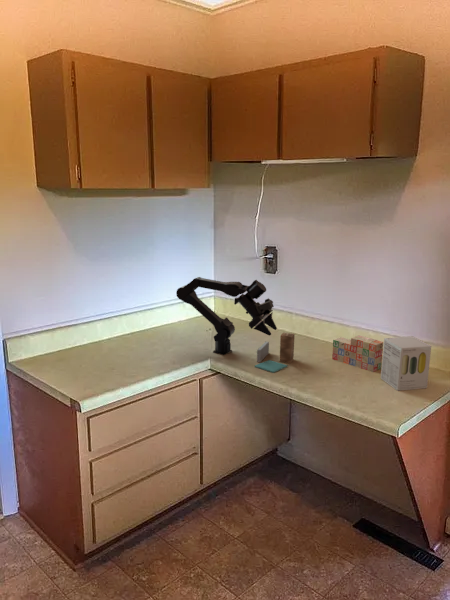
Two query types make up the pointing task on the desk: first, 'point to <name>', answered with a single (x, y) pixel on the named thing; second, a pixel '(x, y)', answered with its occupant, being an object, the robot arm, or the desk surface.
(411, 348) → the supplement box
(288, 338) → the letter block
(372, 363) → the stack of blocks
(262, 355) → the screen
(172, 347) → the desk surface
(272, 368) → the mat
